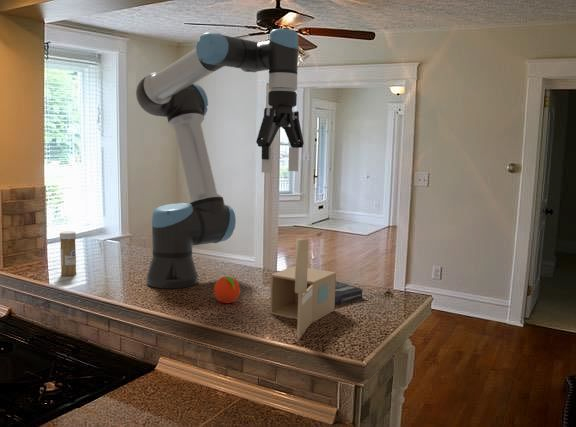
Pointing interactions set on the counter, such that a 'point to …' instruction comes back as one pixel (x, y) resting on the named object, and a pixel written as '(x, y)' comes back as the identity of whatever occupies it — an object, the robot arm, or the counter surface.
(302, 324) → the tan tapered piece
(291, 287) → the carton
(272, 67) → the robot arm
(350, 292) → the box
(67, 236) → the sprinkles bottle
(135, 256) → the counter surface
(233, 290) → the clementine
